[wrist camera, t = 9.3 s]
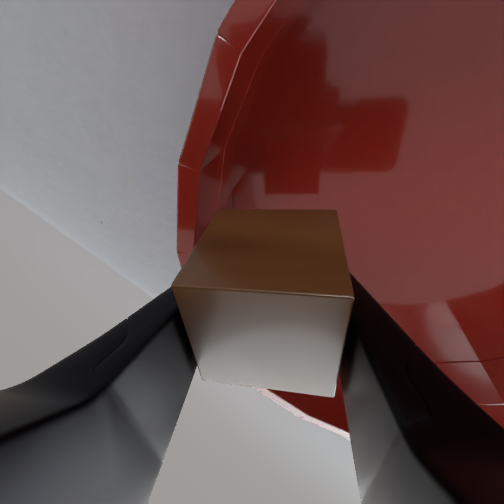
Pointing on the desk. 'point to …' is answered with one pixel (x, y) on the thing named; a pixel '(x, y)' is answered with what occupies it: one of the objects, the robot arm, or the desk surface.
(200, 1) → the desk surface
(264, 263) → the block
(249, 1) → the red round bowl
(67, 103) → the desk surface
